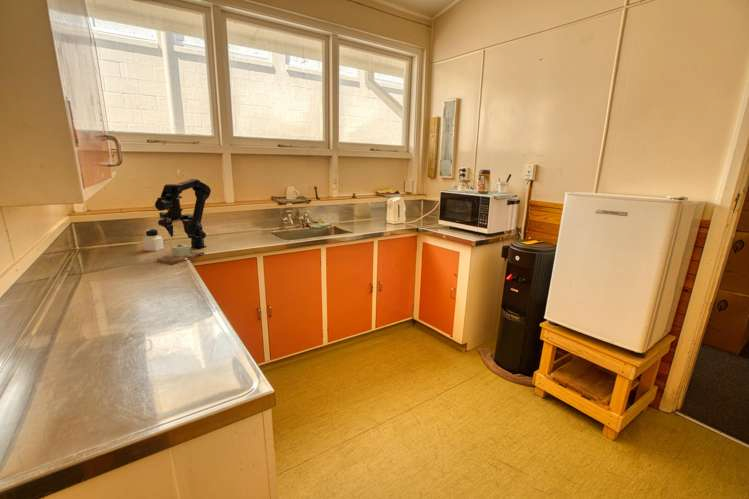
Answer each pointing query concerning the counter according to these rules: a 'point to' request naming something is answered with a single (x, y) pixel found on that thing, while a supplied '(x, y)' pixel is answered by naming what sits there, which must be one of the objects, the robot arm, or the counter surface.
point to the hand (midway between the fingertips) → (179, 234)
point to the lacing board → (174, 259)
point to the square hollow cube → (180, 251)
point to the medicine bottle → (152, 241)
